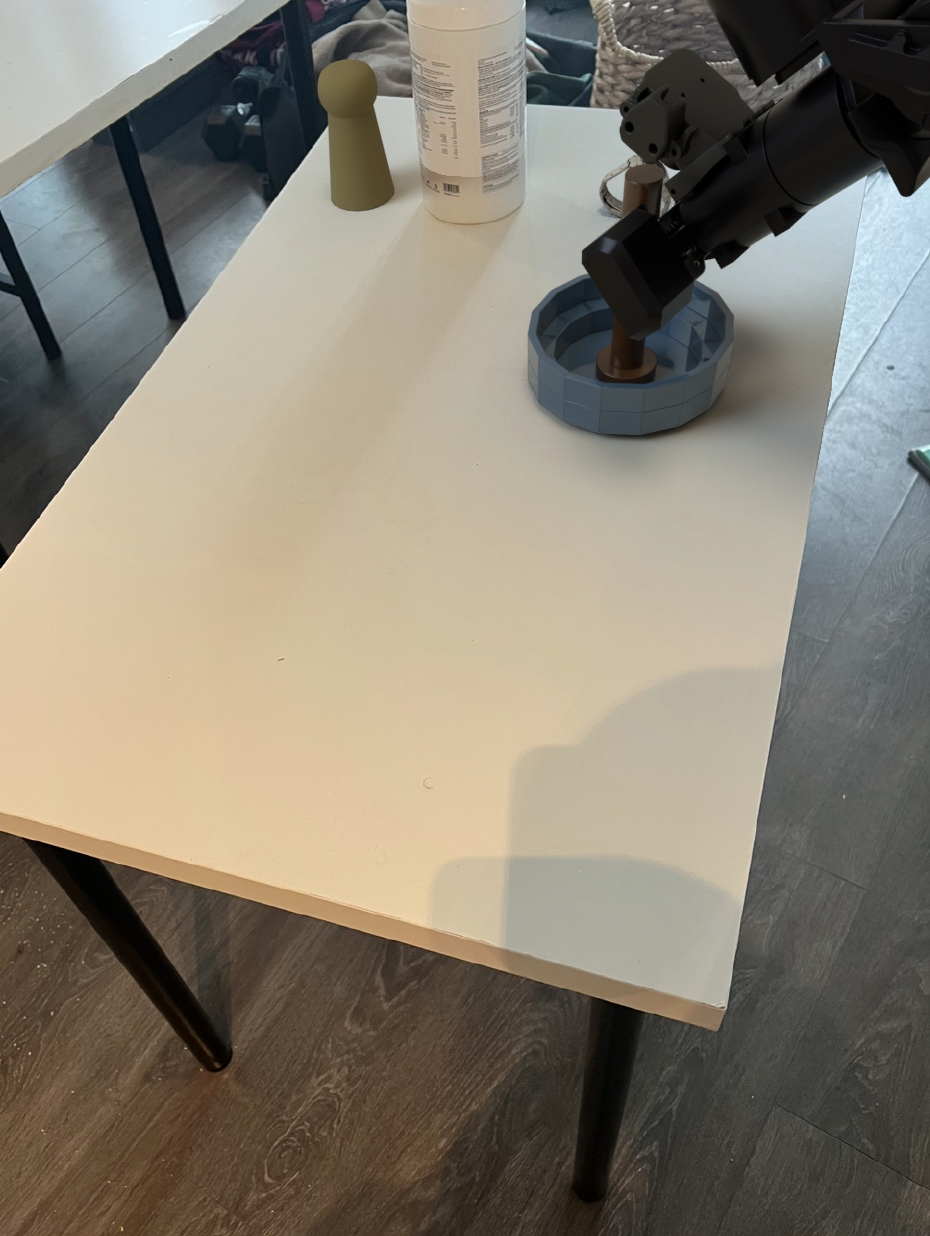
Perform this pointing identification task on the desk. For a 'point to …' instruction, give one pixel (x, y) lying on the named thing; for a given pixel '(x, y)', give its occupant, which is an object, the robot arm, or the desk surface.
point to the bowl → (679, 391)
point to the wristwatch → (605, 195)
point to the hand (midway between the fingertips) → (616, 277)
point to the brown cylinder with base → (623, 354)
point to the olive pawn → (354, 136)
